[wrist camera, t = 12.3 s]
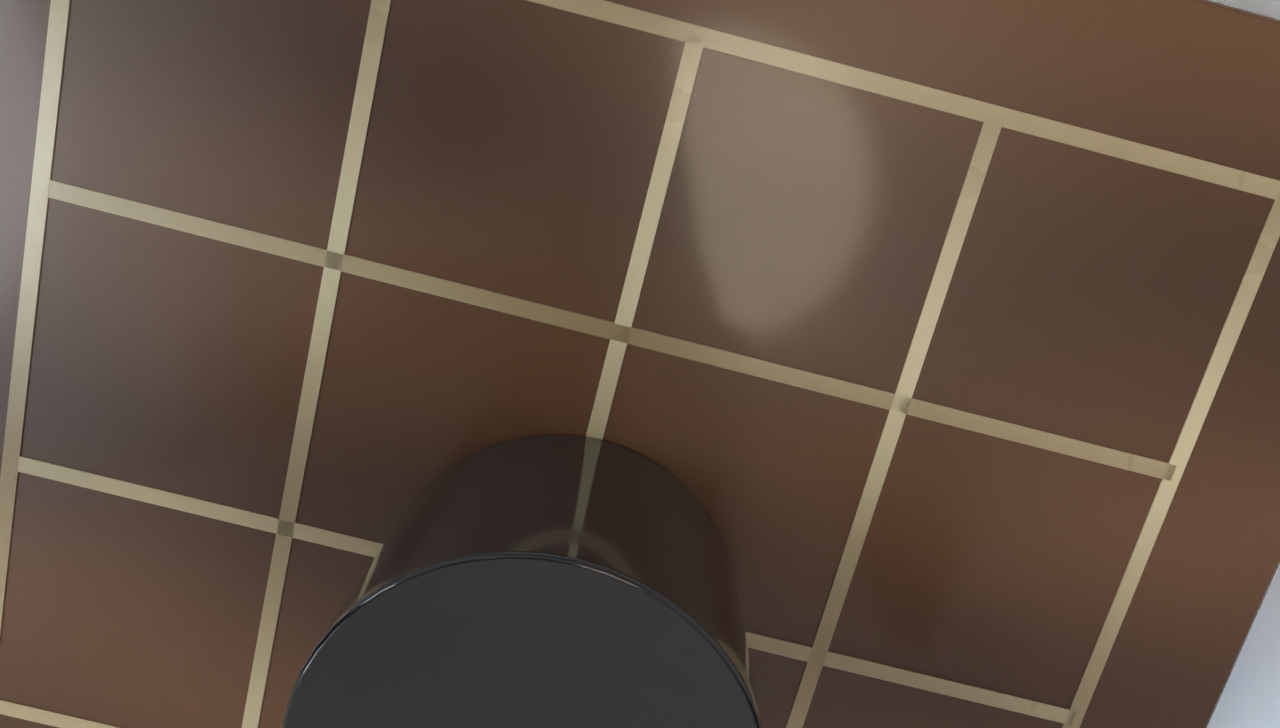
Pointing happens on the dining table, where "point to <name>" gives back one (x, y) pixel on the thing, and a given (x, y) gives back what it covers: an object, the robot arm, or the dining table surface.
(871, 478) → the board
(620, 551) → the dark grey puck
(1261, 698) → the dining table surface
